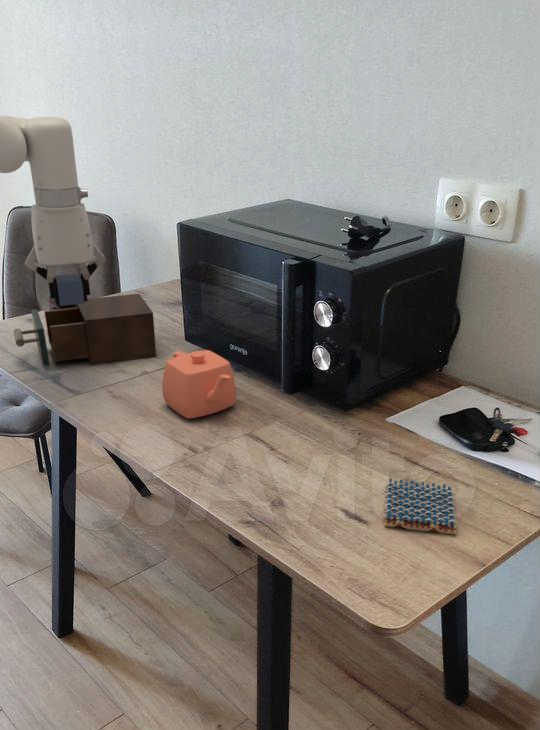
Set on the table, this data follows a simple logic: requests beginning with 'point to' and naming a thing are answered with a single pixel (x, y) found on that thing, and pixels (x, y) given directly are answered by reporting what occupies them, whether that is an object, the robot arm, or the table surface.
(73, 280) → the block
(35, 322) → the drawer
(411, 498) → the woven mat
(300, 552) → the table surface
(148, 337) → the cabinet
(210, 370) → the teapot
